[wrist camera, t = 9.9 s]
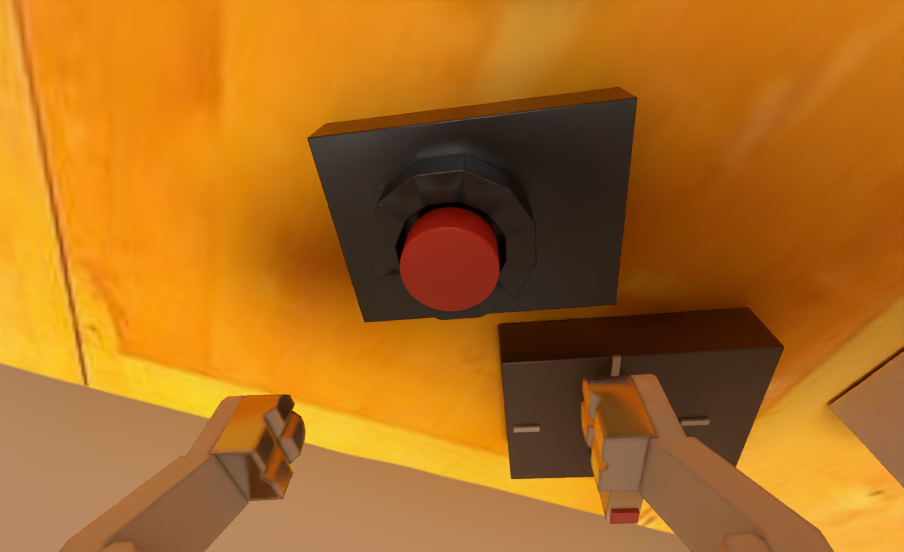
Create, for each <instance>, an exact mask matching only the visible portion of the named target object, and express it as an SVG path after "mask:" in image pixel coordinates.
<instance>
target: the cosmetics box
mask: <svg viewBox="0 0 904 552" xmlns="http://www.w3.org/2000/svg"><path fill="white" fill-rule="evenodd" d="M830 409H831V410H832V411H833V412H834V413H835V414H836V415H837V416H838V417H839V418H840V419H841V420H842V421H843V422H844V423H845V424H846V426H847V427H848V428H849V429H850V430H851V431H852V432H853V433H854V434H855V435H856V436H857V437H858V438H859V439H860V441H861V442H862V443H863V444H864V445H865V446H866V447H867V448H868V449H869V451H870V452H871V453H872V454H873V455H874V456H875V457H876V458H877V459H878V460H879V461H880V463H881V464H882V465H883V466H884V467H885V468H886V469H887V470H888V471H889V472H890V473H891V474H892V476H893V477H894V478H895V479H896V480H897V481H898V482H899V483H900V484H901V485H902V486H903V488H904V351H903V352H902V353H900V354H899V355H898V356H896V357H895V358H894V359H892V360H891V361H889V362H888V363H887V364H885V365H884V366H883V367H881V368H880V369H879V370H877V371H876V372H875V373H873V374H872V375H871V376H869V377H868V378H867V379H866V380H864V381H863V382H861V383H860V384H859V385H857V386H856V387H854V388H853V389H851V390H850V391H849V392H847V393H846V394H845V395H843V396H842V397H840V398H839V399H838V400H836V401H835V402H834V403H832V404H831V405H830Z"/></svg>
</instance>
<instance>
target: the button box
mask: <svg viewBox="0 0 904 552" xmlns="http://www.w3.org/2000/svg"><path fill="white" fill-rule="evenodd" d="M636 105H637V97H635V96H633V95H632V94H630V93H628V92H626V91H625V90H623V89H621V88H619V87H615V88H608V89H600V90H592V91H584V92H576V93H568V94H560V95H552V96H544V97H536V98H528V99H520V100H512V101H504V102H497V103H489V104H481V105H473V106H465V107H457V108H449V109H441V110H433V111H425V112H417V113H409V114H401V115H393V116H386V117H378V118H370V119H362V120H354V121H346V122H338V123H330V124H325V125H323V126H322V127H321V128H320V129H318V130H317V131H316V132H315V133H313V134H312V135H311V136H310V137H308V142H309V145H310V148H311V151H312V155H313V158H314V161H315V164H316V168H317V171H318V174H319V177H320V181H321V184H322V187H323V190H324V193H325V197H326V200H327V203H328V206H329V210H330V213H331V216H332V219H333V222H334V226H335V229H336V232H337V235H338V239H339V242H340V245H341V248H342V252H343V255H344V258H345V261H346V264H347V268H348V271H349V274H350V277H351V281H352V284H353V287H354V290H355V293H356V297H357V300H358V303H359V306H360V310H361V313H362V316H363V319H364V322H377V321H391V320H405V319H419V318H433V317H434V318H437V319H440V320H448V319H462V318H476V317H482V316H484V315H486V314H489V313H503V312H517V311H531V310H545V309H559V308H574V307H588V306H602V305H615V304H616V295H617V286H618V276H619V267H620V257H621V248H622V238H623V229H624V219H625V210H626V200H627V190H628V181H629V171H630V162H631V152H632V143H633V133H634V124H635V114H636ZM443 207H458V208H463V209H467V210H470V211H472V212H474V213H476V214H477V215H479V216H481V217H482V218H483V219H484V220H485V221H486V222H487V223H488V224H489V225H490V227H491V228H492V230H493V231H494V234H495V236H496V239H497V245H498V255H499V266H500V273H499V279H498V282H497V284H496V286H495V288H494V290H493V291H492V293H491V294H490V295H489V296H488V297H487V298H486V299H485V300H484V301H482V302H481V303H479V304H477V305H475V306H473V307H471V308H468V309H464V310H459V311H443V310H438V309H434V308H431V307H429V306H426V305H425V304H423V303H421V302H419V301H418V300H417V299H415V298H414V297H413V296H412V295H411V294H410V292H409V291H408V290H407V288H406V287H405V285H404V283H403V281H402V278H401V274H400V259H401V255H402V252H403V249H404V245H405V242H406V239H407V235H408V232H409V230H410V228H411V227H412V225H413V224H414V223H415V222H416V221H417V220H418V219H419V218H420V217H421V216H422V215H424V214H426V213H427V212H430V211H432V210H435V209H438V208H443Z"/></svg>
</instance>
